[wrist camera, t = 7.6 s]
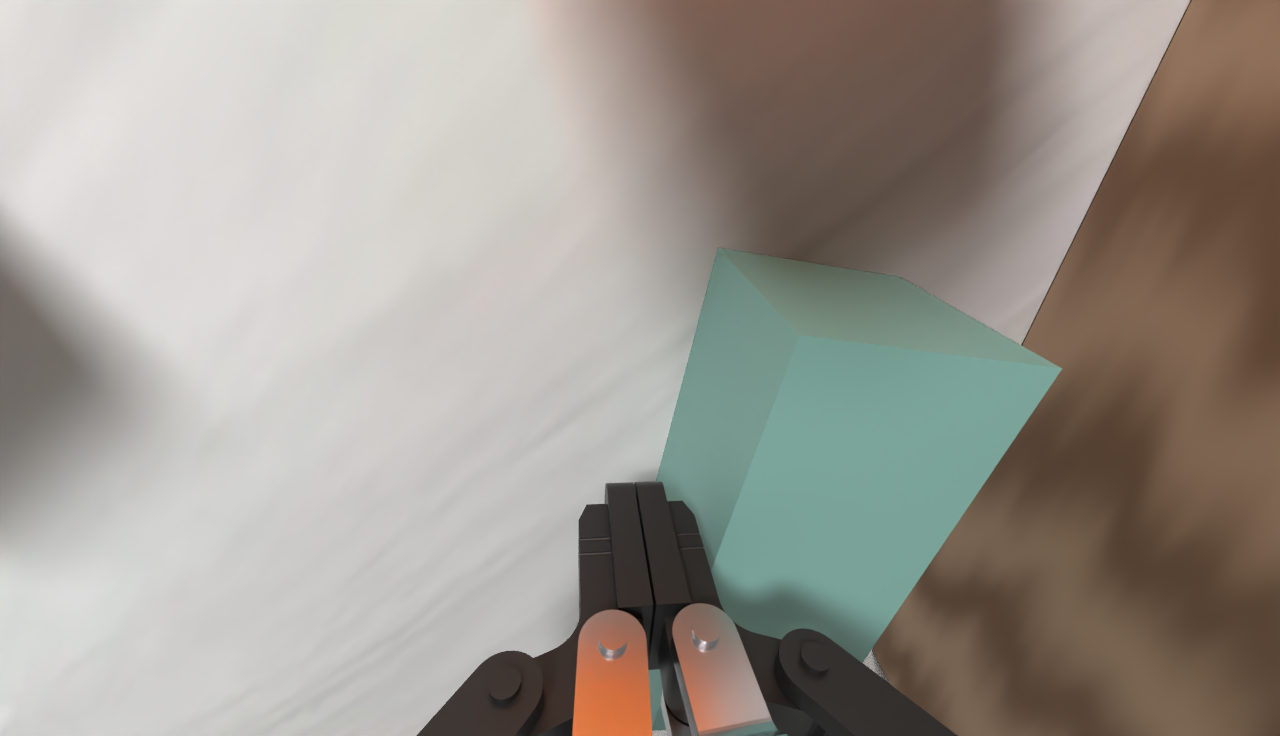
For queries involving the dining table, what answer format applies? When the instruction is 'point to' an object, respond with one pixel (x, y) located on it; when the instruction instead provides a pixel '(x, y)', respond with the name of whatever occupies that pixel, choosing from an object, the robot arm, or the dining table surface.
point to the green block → (834, 440)
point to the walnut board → (1137, 443)
